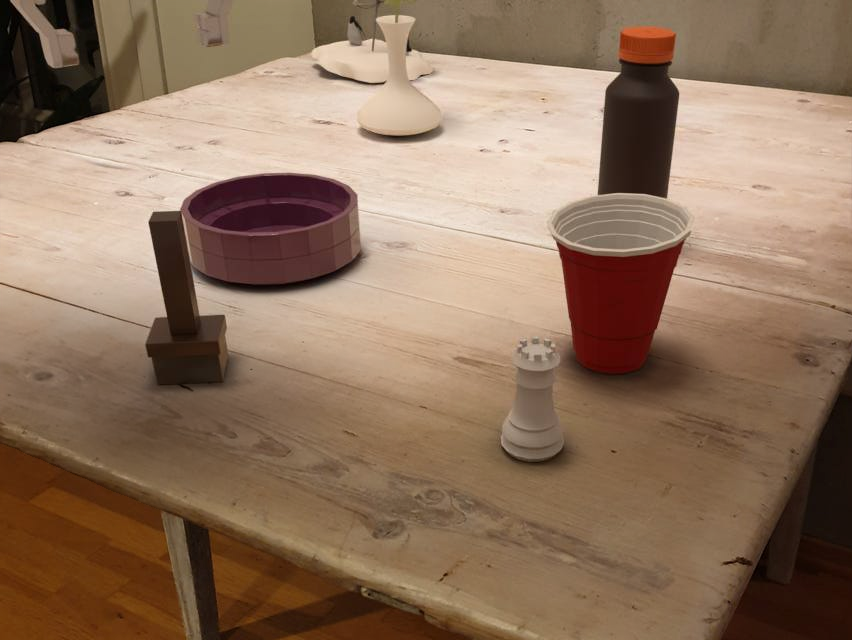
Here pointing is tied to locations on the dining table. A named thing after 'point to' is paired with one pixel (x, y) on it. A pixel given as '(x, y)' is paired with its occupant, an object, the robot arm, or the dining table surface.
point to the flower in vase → (398, 87)
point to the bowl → (272, 228)
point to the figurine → (366, 55)
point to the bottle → (640, 116)
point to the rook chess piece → (533, 404)
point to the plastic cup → (617, 273)
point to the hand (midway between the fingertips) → (141, 54)
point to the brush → (182, 313)
